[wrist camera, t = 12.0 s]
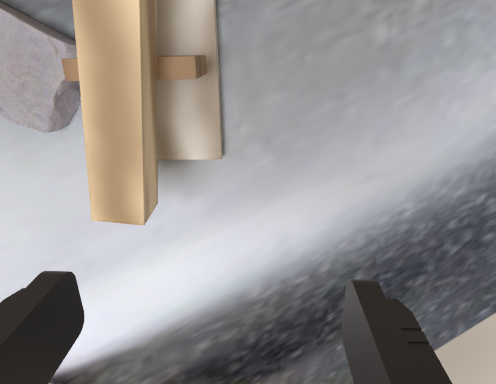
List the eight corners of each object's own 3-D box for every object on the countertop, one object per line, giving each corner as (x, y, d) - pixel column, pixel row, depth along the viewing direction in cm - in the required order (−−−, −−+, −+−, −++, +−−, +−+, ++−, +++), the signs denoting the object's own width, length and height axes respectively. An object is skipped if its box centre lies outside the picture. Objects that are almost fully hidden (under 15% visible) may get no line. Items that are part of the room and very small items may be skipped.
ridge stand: (213, -50, 29) (200, -81, 22) (222, 155, 36) (215, 180, 29) (73, -47, 29) (17, -76, 22) (109, 156, 36) (75, 181, 29)
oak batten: (156, -114, 21) (136, -148, 18) (157, 203, 30) (143, 225, 26) (92, -122, 21) (58, -158, 18) (111, 199, 30) (91, 220, 26)
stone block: (80, 130, 37) (98, 41, 32) (53, 148, 33) (68, 50, 28) (-28, 78, 36) (-29, -24, 30) (-70, 91, 32) (-80, -24, 26)
